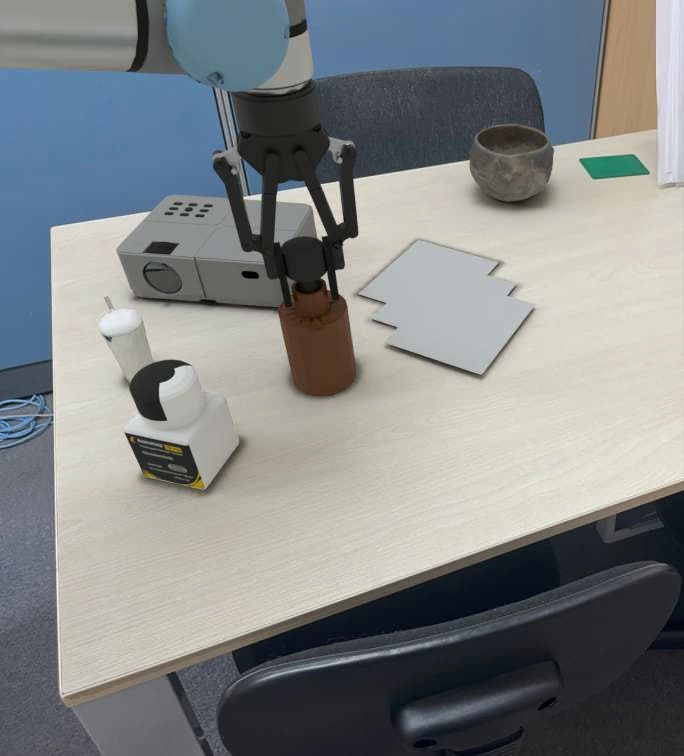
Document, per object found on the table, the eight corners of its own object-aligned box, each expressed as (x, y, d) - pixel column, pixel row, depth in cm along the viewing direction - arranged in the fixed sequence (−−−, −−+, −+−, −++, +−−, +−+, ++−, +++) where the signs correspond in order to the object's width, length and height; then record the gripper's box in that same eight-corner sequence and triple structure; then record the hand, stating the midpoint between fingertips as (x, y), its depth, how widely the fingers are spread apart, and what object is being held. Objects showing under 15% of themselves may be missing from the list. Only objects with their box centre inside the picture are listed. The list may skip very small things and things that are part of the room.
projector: (181, 239, 109) (166, 192, 104) (322, 249, 108) (314, 202, 103) (129, 301, 96) (109, 251, 91) (288, 313, 95) (278, 263, 90)
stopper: (293, 315, 77) (282, 260, 72) (290, 293, 80) (278, 239, 75) (334, 309, 78) (326, 254, 73) (329, 287, 81) (320, 233, 77)
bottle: (296, 401, 83) (276, 310, 74) (290, 361, 88) (270, 272, 79) (360, 389, 84) (348, 299, 76) (351, 351, 90) (338, 263, 81)
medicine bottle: (143, 477, 73) (103, 391, 65) (182, 430, 79) (150, 345, 71) (205, 492, 72) (172, 406, 64) (241, 442, 77) (215, 358, 69)
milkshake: (152, 356, 88) (126, 288, 81) (168, 379, 85) (143, 310, 78) (113, 370, 86) (84, 302, 79) (128, 394, 83) (99, 325, 76)
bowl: (461, 208, 119) (460, 151, 112) (480, 169, 130) (481, 115, 124) (543, 218, 117) (547, 160, 111) (555, 178, 129) (560, 123, 122)
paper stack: (322, 325, 93) (321, 321, 93) (418, 240, 111) (418, 236, 110) (481, 379, 86) (481, 374, 86) (557, 278, 104) (558, 274, 103)
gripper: (363, 60, 68) (383, 267, 84) (169, 73, 64) (227, 290, 79) (377, 87, 63) (395, 303, 78) (166, 103, 58) (230, 329, 74)
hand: (311, 296), depth 79 cm, fingers closed on stopper, 4 cm apart
